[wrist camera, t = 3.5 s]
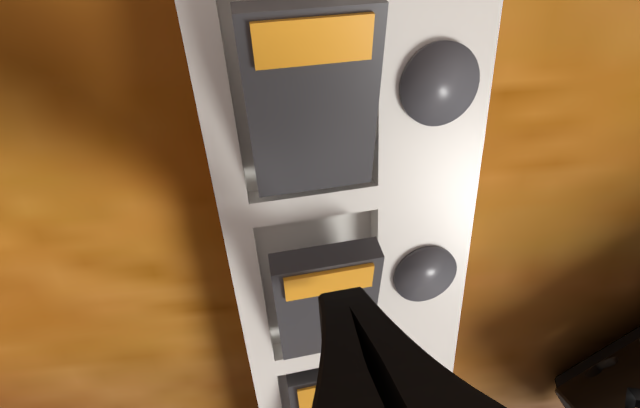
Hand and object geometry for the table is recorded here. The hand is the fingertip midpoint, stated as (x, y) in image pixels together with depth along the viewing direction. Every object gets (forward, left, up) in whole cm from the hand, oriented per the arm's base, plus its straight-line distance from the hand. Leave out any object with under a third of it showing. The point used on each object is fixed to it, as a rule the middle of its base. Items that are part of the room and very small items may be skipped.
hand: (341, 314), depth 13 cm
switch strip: (0, -3, -6) cm, 7 cm away
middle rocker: (-1, -2, -3) cm, 4 cm away
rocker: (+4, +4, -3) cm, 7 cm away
